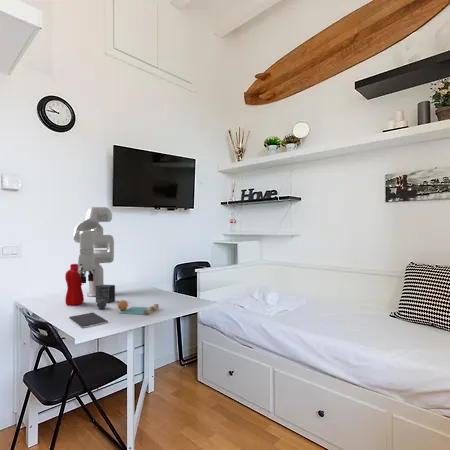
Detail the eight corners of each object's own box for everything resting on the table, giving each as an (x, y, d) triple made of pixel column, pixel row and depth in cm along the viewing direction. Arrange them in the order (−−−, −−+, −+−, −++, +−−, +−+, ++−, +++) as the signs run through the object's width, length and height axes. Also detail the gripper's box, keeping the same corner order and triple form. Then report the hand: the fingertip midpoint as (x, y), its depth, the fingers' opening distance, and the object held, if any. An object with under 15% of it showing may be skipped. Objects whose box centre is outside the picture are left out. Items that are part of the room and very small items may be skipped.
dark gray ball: (100, 307, 192) (100, 298, 192) (108, 307, 191) (108, 298, 191) (94, 309, 187) (94, 300, 187) (102, 310, 185) (102, 300, 185)
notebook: (107, 323, 162) (93, 315, 178) (107, 320, 162) (93, 312, 178) (81, 329, 153) (68, 319, 169) (81, 326, 153) (68, 316, 169)
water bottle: (78, 306, 195) (78, 265, 195) (63, 305, 197) (62, 264, 197) (88, 302, 204) (87, 263, 204) (73, 301, 206) (72, 262, 206)
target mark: (132, 306, 192) (132, 306, 192) (153, 308, 189) (153, 307, 189) (119, 313, 178) (119, 313, 178) (142, 314, 175) (142, 314, 175)
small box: (115, 300, 208) (115, 284, 208) (109, 303, 201) (109, 286, 201) (101, 299, 211) (101, 284, 211) (95, 302, 204) (95, 285, 204)
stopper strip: (155, 308, 188) (155, 304, 188) (158, 308, 188) (158, 304, 188) (143, 315, 175) (143, 310, 175) (147, 315, 174) (147, 310, 174)
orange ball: (121, 308, 189) (121, 299, 189) (129, 308, 187) (129, 299, 187) (116, 310, 183) (115, 301, 183) (124, 311, 182) (124, 301, 182)
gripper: (90, 250, 200) (90, 279, 200) (71, 253, 183) (71, 284, 183) (101, 250, 198) (101, 279, 198) (82, 253, 181) (83, 285, 181)
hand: (87, 281), depth 191 cm, fingers open, 5 cm apart
